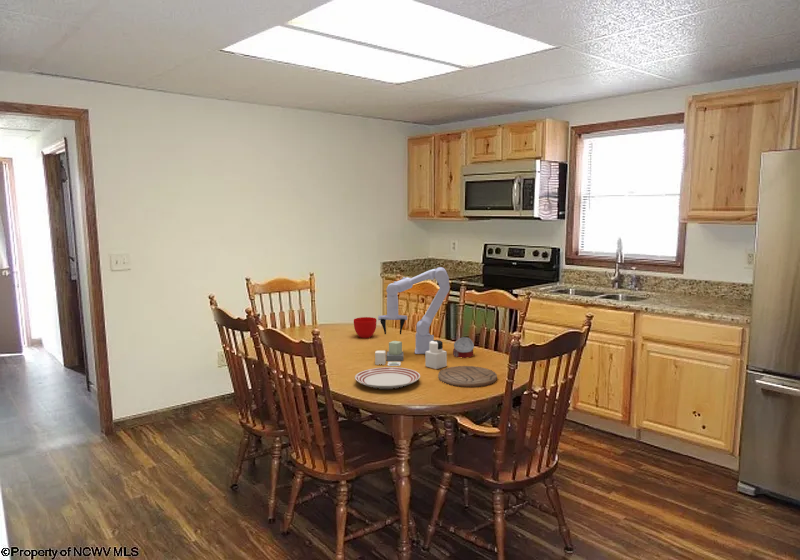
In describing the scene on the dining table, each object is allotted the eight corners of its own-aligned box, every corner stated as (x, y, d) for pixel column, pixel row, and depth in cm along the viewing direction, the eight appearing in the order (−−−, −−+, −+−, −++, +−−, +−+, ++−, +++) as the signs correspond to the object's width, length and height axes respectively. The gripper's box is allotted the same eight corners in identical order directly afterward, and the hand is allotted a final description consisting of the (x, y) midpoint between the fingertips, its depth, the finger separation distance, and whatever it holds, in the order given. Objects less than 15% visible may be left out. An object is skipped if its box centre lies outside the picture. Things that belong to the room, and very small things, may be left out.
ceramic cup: (381, 333, 322) (380, 316, 321) (373, 339, 306) (372, 322, 304) (359, 332, 325) (359, 315, 324) (350, 338, 309) (350, 321, 307)
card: (400, 362, 262) (400, 361, 262) (400, 365, 256) (400, 365, 256) (388, 362, 262) (388, 361, 262) (387, 365, 256) (387, 365, 256)
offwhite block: (385, 362, 263) (385, 350, 262) (385, 364, 258) (384, 353, 257) (376, 362, 263) (375, 350, 262) (375, 364, 258) (375, 353, 258)
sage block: (402, 353, 269) (401, 341, 268) (396, 355, 265) (396, 343, 264) (394, 351, 271) (393, 340, 270) (388, 353, 267) (388, 342, 266)
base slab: (403, 357, 272) (403, 351, 272) (403, 361, 264) (403, 355, 264) (387, 357, 272) (387, 351, 272) (386, 361, 264) (386, 355, 264)
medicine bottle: (435, 363, 260) (435, 338, 258) (447, 366, 255) (447, 340, 253) (425, 366, 255) (424, 341, 253) (436, 369, 250) (436, 343, 248)
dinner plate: (347, 377, 240) (346, 370, 240) (405, 369, 250) (405, 362, 250) (367, 397, 215) (366, 389, 214) (430, 388, 225) (430, 380, 225)
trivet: (474, 367, 254) (474, 363, 254) (509, 382, 232) (509, 377, 232) (427, 375, 243) (427, 371, 242) (458, 391, 221) (458, 387, 220)
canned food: (473, 363, 275) (482, 347, 271) (460, 365, 268) (469, 349, 264) (458, 349, 281) (466, 333, 278) (445, 351, 274) (453, 335, 270)
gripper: (407, 305, 281) (407, 332, 283) (378, 305, 281) (379, 332, 283) (406, 308, 274) (407, 335, 276) (377, 308, 274) (378, 335, 276)
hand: (392, 333), depth 279 cm, fingers open, 7 cm apart
